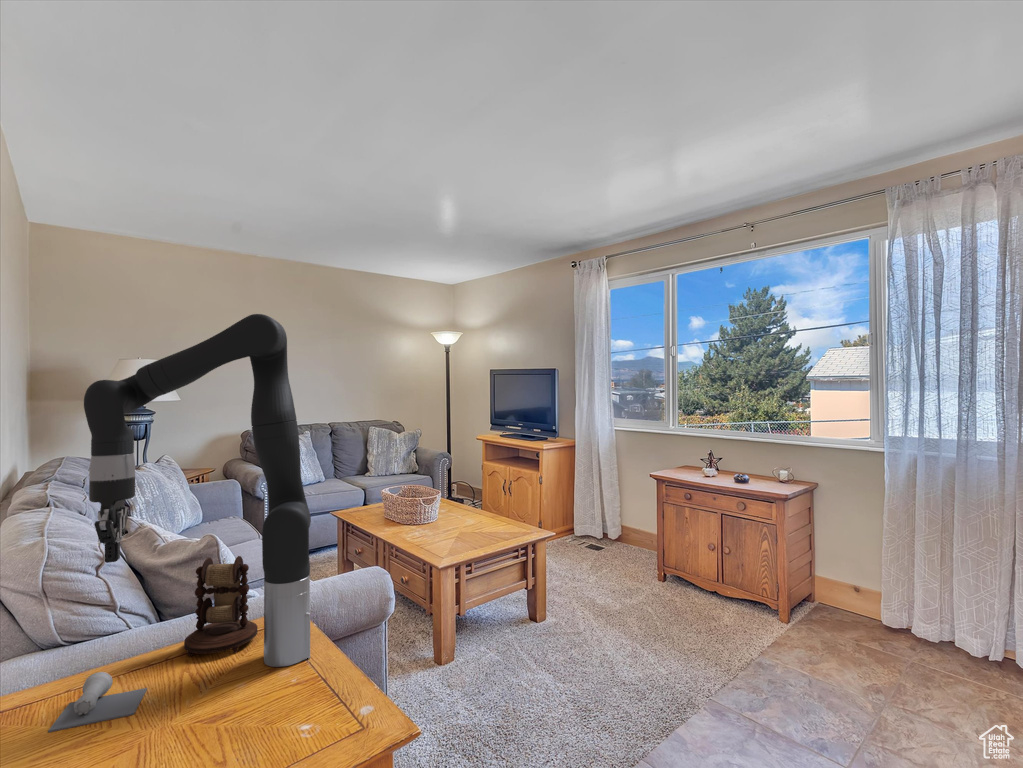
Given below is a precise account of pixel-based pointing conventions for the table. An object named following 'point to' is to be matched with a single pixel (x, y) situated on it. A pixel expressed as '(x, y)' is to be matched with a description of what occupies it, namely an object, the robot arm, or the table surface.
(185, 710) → the table surface
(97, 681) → the rook chess piece
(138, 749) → the table surface
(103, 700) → the felt mat
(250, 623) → the wooden spool holder
